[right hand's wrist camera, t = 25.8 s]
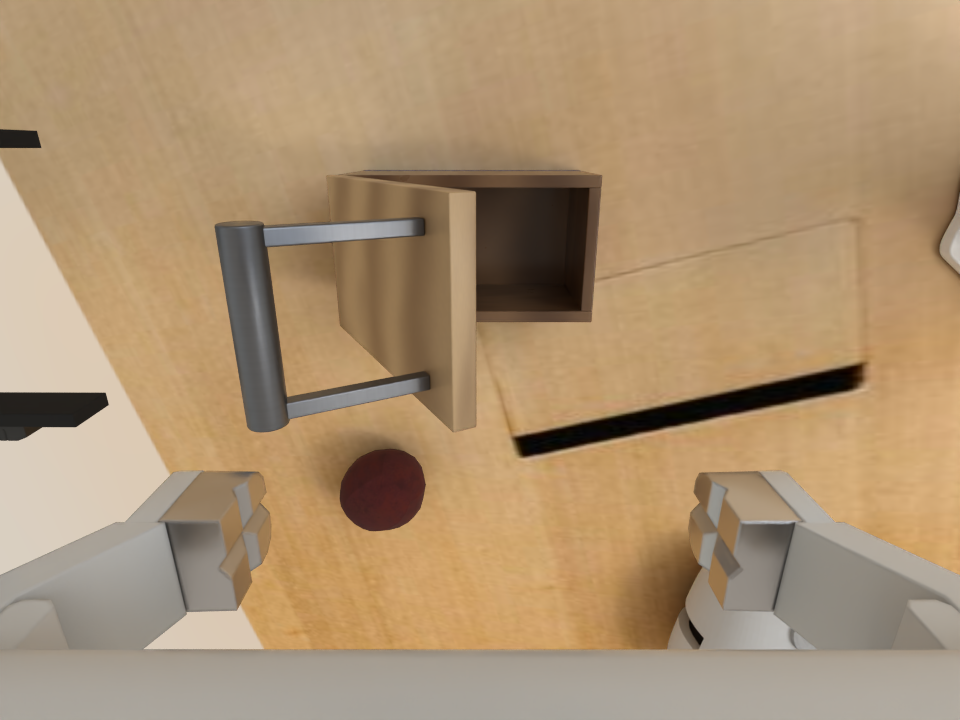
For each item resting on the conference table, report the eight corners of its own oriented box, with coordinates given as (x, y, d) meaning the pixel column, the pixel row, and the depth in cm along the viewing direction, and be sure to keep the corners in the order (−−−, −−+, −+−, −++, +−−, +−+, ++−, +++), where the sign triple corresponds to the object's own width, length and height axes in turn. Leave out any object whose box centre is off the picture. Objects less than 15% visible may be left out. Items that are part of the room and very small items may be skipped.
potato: (334, 468, 53) (314, 513, 47) (390, 418, 51) (377, 457, 45) (390, 515, 55) (377, 564, 48) (446, 469, 53) (441, 514, 47)
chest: (578, 170, 44) (602, 174, 35) (571, 291, 47) (591, 322, 39) (365, 170, 44) (337, 174, 35) (373, 291, 47) (349, 322, 39)
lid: (476, 191, 20) (215, 200, 17) (476, 427, 24) (261, 481, 20) (344, 175, 35) (188, 177, 31) (356, 323, 38) (217, 343, 34)
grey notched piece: (715, 710, 65) (778, 860, 51) (615, 583, 58) (656, 716, 44) (899, 625, 60) (1023, 765, 46) (813, 477, 54) (927, 589, 40)
